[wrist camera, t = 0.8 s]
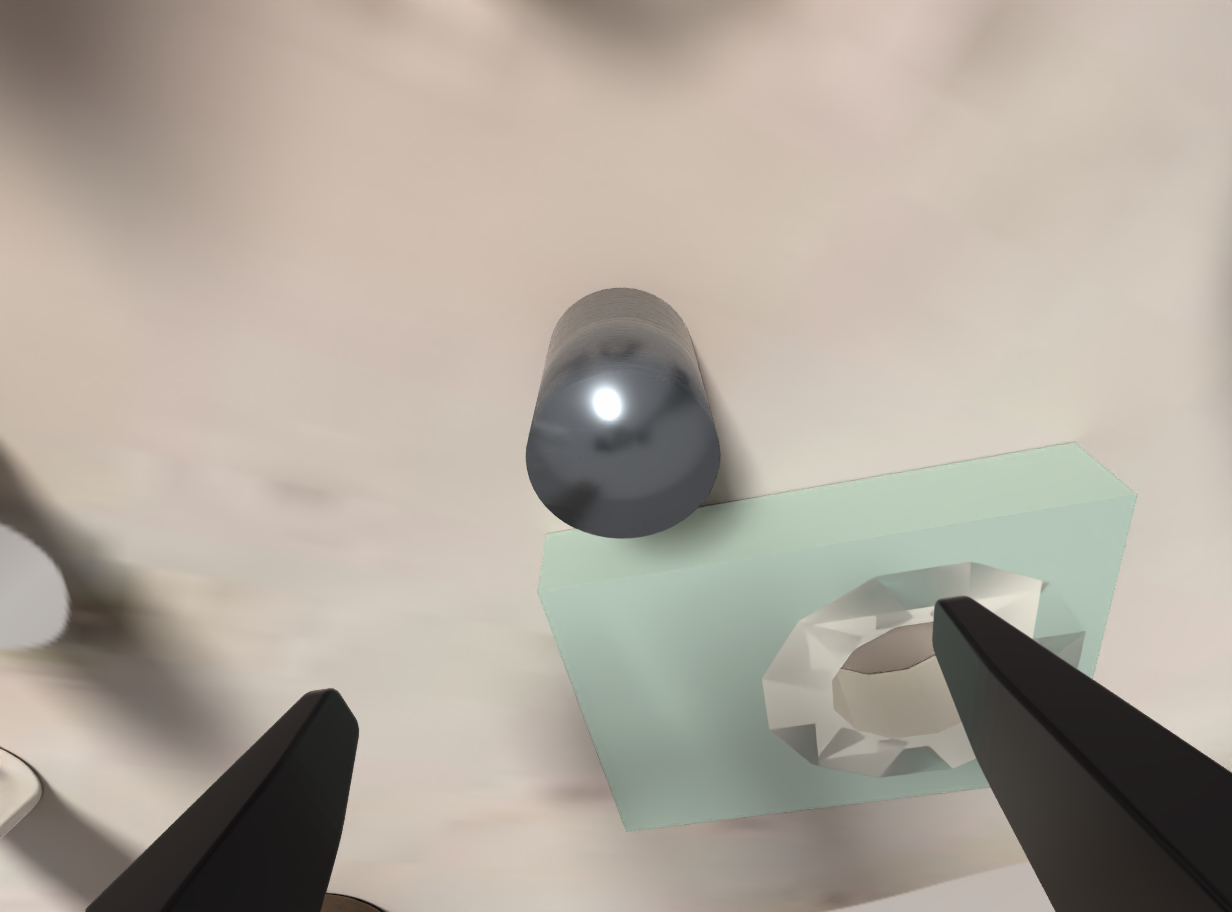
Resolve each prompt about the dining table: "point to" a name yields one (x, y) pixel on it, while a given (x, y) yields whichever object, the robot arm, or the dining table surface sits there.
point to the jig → (821, 630)
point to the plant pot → (345, 905)
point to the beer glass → (16, 791)
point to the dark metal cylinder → (622, 419)
